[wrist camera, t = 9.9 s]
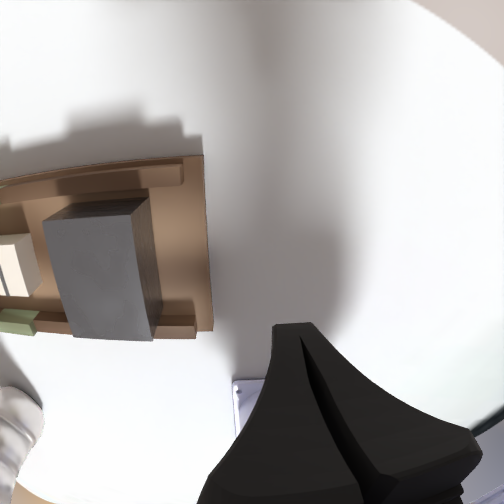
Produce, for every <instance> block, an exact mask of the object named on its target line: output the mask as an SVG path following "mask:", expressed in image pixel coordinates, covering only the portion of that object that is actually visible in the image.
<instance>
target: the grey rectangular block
mask: <svg viewBox="0 0 504 504" xmlns="http://www.w3.org/2000/svg"><path fill="white" fill-rule="evenodd" d="M42 225H43V230H44V235H45V240H46V244H47V249H48V253H49V257H50V261H51V265H52V269H53V273H54V277H55V281H56V284H57V288H58V291H59V295H60V298H61V301H62V304H63V308H64V311H65V314H66V317H67V320H68V323H69V326H70V329H71V331H72V334H73V337H77V338H90V339H106V340H127V341H153V338H154V335H155V332H156V329H157V326H158V322H159V319H160V316H161V313H162V310H163V307H164V306H163V300H162V294H161V288H160V281H159V274H158V268H157V260H156V253H155V245H154V237H153V228H152V219H151V210H150V199H149V197H138V198H124V199H111V200H99V201H88V202H78V203H71V204H69V205H68V206H66V207H64V208H63V209H61V210H59V211H58V212H56V213H54V214H53V215H51V216H50V217H48V218H47V219H45V220H43V221H42Z"/></svg>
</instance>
